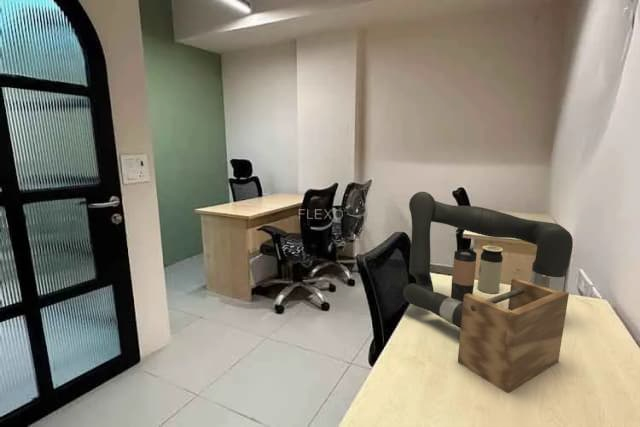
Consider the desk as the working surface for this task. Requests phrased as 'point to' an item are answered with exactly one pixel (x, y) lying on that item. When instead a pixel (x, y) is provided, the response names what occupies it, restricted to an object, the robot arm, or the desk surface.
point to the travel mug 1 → (463, 273)
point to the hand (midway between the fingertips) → (512, 339)
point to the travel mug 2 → (490, 269)
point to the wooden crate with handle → (512, 333)
